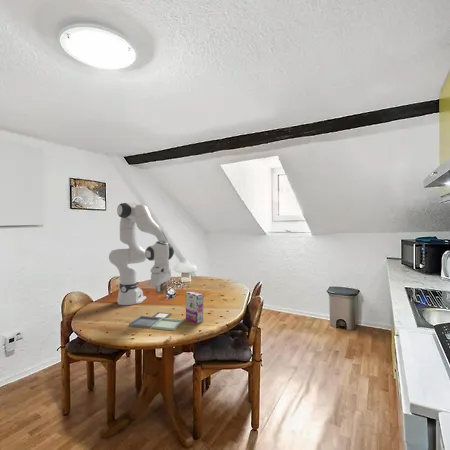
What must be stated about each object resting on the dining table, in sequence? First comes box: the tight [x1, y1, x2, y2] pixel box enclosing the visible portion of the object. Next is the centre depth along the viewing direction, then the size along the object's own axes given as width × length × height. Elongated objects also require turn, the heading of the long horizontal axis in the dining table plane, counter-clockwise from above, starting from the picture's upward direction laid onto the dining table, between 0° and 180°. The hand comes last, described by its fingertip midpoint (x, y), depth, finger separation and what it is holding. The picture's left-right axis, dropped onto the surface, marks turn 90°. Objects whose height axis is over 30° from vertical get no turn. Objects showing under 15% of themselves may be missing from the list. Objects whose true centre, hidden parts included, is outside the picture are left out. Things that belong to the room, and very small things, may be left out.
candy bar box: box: [185, 290, 204, 324], centre depth 164 cm, size 11×5×16 cm, turn 44°
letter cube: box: [155, 283, 168, 295], centre depth 171 cm, size 5×5×5 cm
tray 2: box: [151, 317, 184, 331], centre depth 156 cm, size 13×13×2 cm
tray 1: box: [128, 315, 161, 329], centre depth 159 cm, size 13×13×2 cm
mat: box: [151, 311, 173, 318], centre depth 171 cm, size 10×10×1 cm
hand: (161, 289), depth 171 cm, fingers closed on letter cube, 5 cm apart
